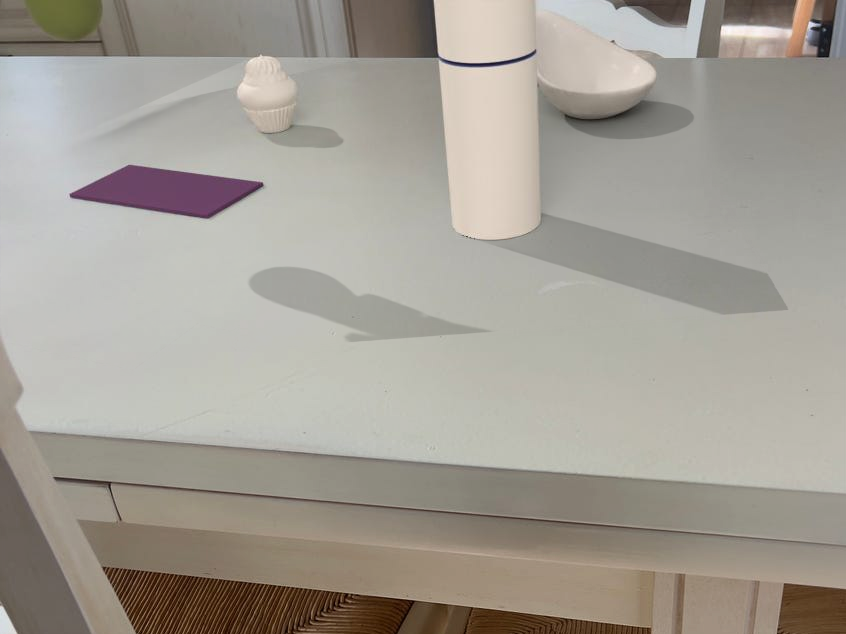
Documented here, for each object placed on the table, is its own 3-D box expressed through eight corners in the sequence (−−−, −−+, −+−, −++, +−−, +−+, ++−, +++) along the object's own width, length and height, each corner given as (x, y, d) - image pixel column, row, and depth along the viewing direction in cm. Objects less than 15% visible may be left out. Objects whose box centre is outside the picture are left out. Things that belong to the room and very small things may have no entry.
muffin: (289, 115, 108) (277, 43, 103) (314, 128, 103) (302, 54, 99) (235, 128, 105) (219, 55, 101) (257, 142, 101) (243, 67, 97)
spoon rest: (678, 113, 100) (683, 33, 95) (577, 138, 96) (577, 56, 91) (552, 64, 116) (551, -6, 112) (461, 84, 112) (456, 12, 108)
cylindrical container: (452, 242, 79) (420, -146, 63) (451, 208, 84) (421, -157, 68) (544, 236, 79) (535, -155, 63) (537, 201, 84) (527, -166, 68)
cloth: (69, 197, 92) (68, 194, 92) (129, 167, 98) (129, 164, 98) (207, 218, 86) (206, 215, 86) (263, 185, 92) (263, 182, 91)
